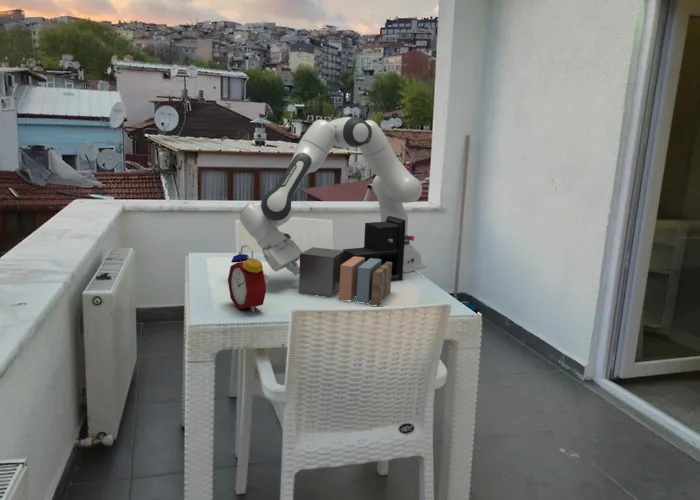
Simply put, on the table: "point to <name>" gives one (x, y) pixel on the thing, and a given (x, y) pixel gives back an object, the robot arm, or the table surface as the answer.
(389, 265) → the walnut end board
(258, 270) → the alarm clock
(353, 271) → the terracotta book
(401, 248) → the bookend
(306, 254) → the iron bookend
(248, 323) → the table surface
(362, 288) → the slate-blue book
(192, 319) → the table surface
